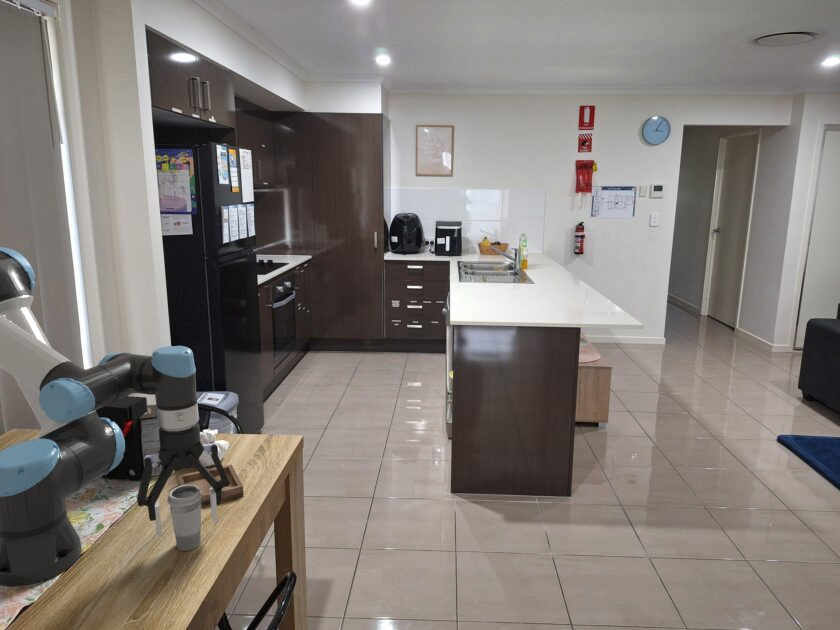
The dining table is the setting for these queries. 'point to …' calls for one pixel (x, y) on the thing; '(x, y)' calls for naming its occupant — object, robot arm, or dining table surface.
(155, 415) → the coffee box
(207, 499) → the tray
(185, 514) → the cup
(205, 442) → the white lumpy piece
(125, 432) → the electrical component
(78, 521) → the dining table surface
